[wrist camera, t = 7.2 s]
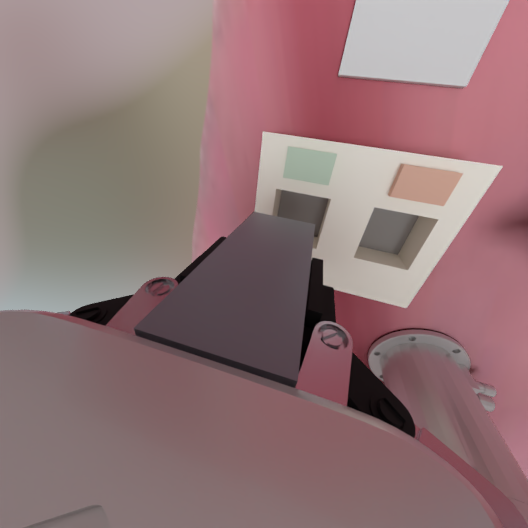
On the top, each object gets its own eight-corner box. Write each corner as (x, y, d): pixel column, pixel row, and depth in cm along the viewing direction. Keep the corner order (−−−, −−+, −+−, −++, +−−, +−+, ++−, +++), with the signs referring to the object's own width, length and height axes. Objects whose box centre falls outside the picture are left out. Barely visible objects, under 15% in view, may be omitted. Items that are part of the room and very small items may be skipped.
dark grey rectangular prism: (315, 224, 13) (297, 381, 4) (300, 275, 15) (270, 447, 6) (253, 211, 13) (133, 328, 5) (248, 263, 15) (158, 405, 7)
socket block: (463, 162, 19) (511, 167, 14) (393, 282, 26) (409, 313, 21) (275, 134, 22) (260, 130, 17) (260, 250, 29) (246, 270, 24)
